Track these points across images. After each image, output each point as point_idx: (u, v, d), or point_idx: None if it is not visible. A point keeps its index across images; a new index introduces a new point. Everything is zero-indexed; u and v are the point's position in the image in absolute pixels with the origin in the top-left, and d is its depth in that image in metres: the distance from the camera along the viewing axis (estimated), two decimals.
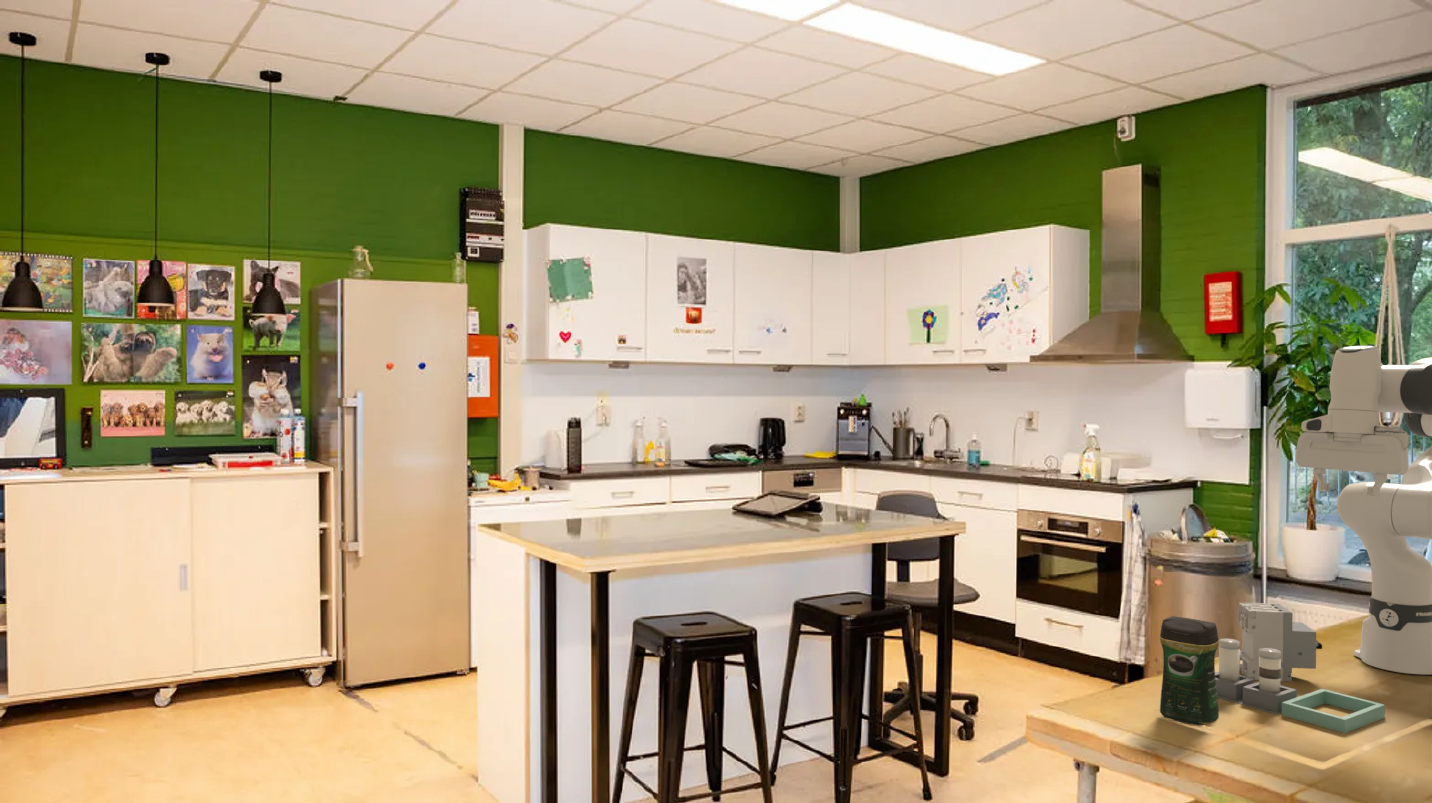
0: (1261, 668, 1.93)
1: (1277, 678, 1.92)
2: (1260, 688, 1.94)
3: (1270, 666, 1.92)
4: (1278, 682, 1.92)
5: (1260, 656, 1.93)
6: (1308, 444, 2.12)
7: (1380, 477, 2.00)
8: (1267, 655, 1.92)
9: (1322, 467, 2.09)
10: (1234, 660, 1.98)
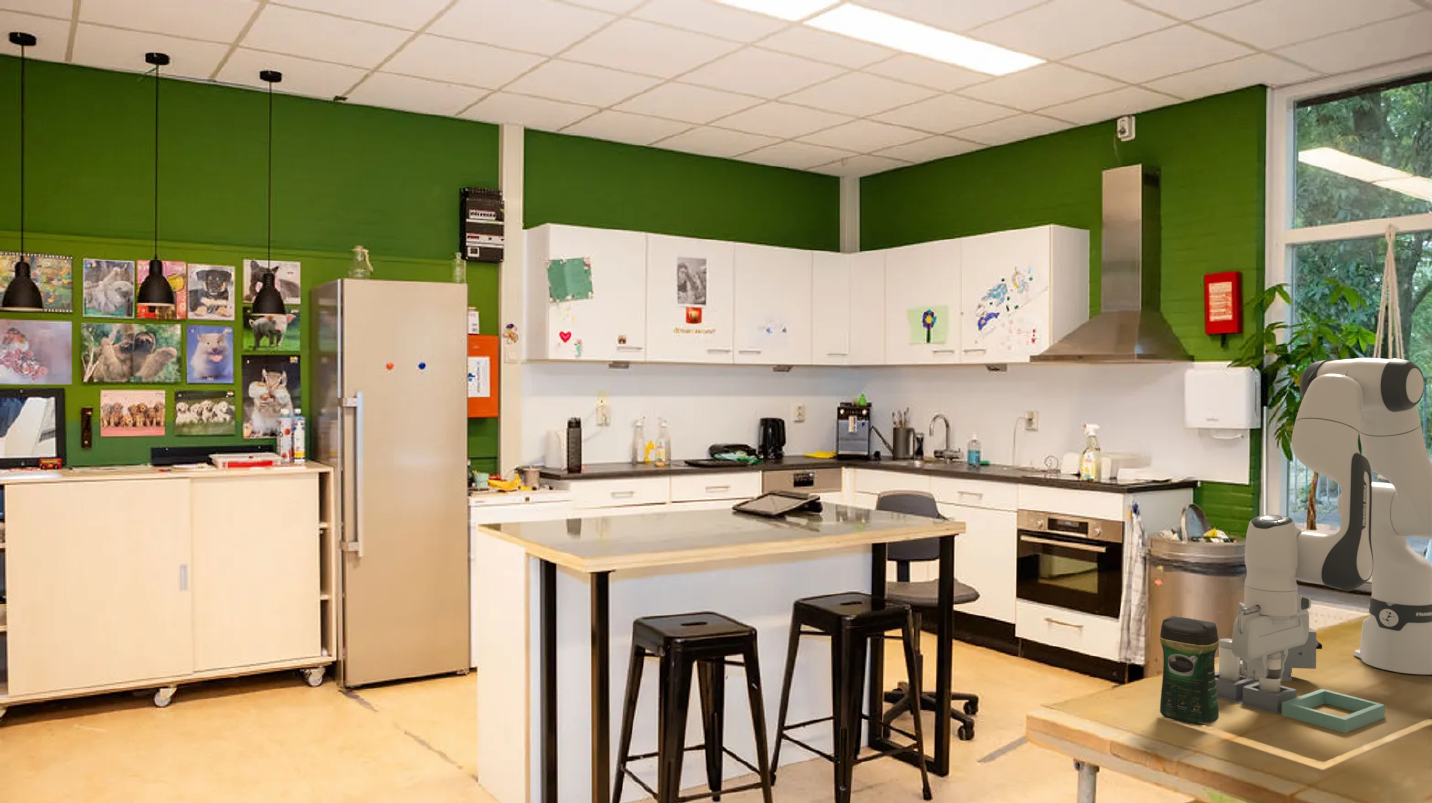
0: None
1: (1277, 678, 1.92)
2: (1260, 688, 1.94)
3: (1270, 666, 1.92)
4: (1278, 682, 1.92)
5: None
6: None
7: None
8: (1267, 655, 1.92)
9: None
10: (1234, 660, 1.98)
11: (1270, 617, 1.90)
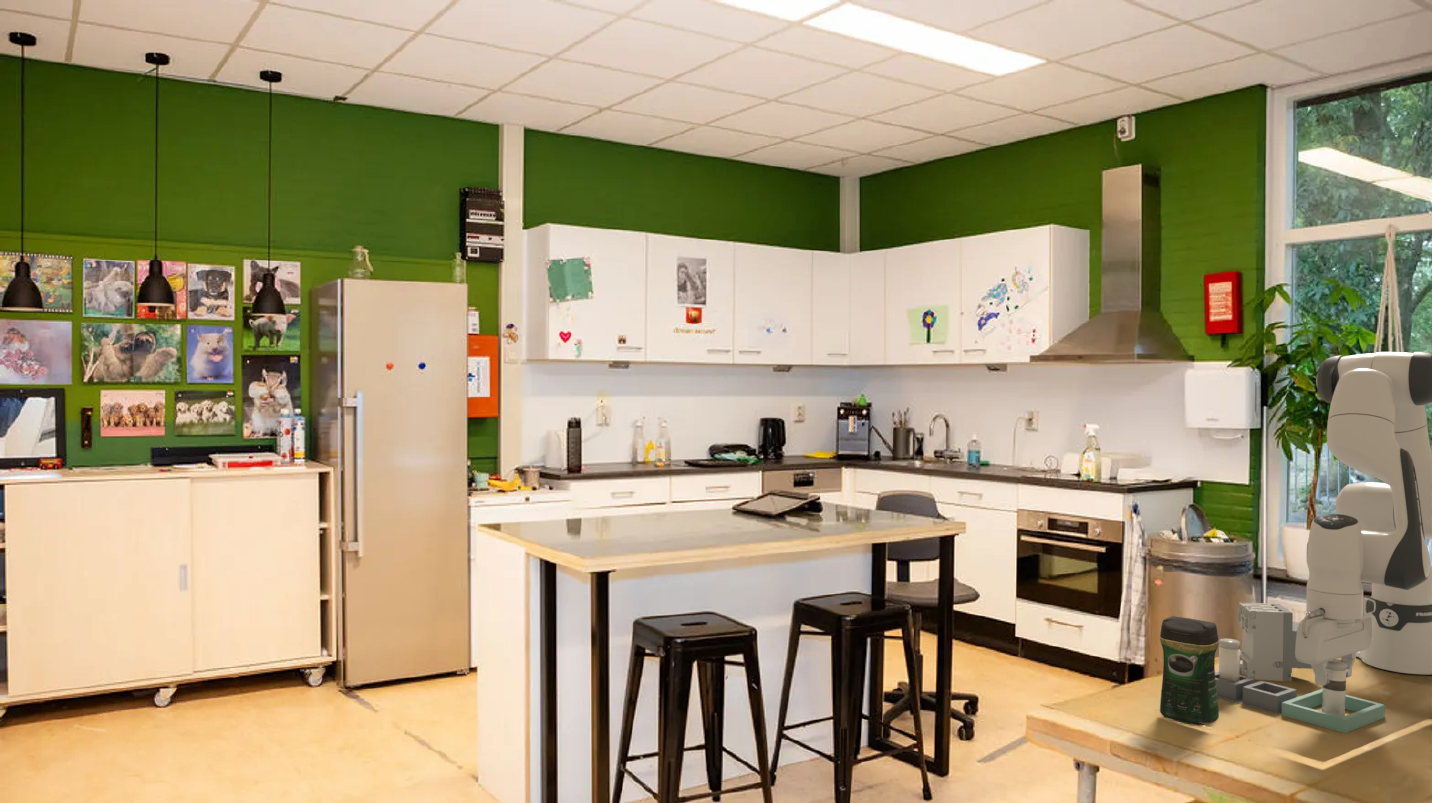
0: None
1: (1342, 690, 1.85)
2: (1323, 700, 1.87)
3: (1335, 677, 1.85)
4: (1343, 694, 1.85)
5: (1325, 667, 1.87)
6: None
7: None
8: (1332, 666, 1.85)
9: None
10: (1234, 660, 1.98)
11: (1335, 621, 1.83)
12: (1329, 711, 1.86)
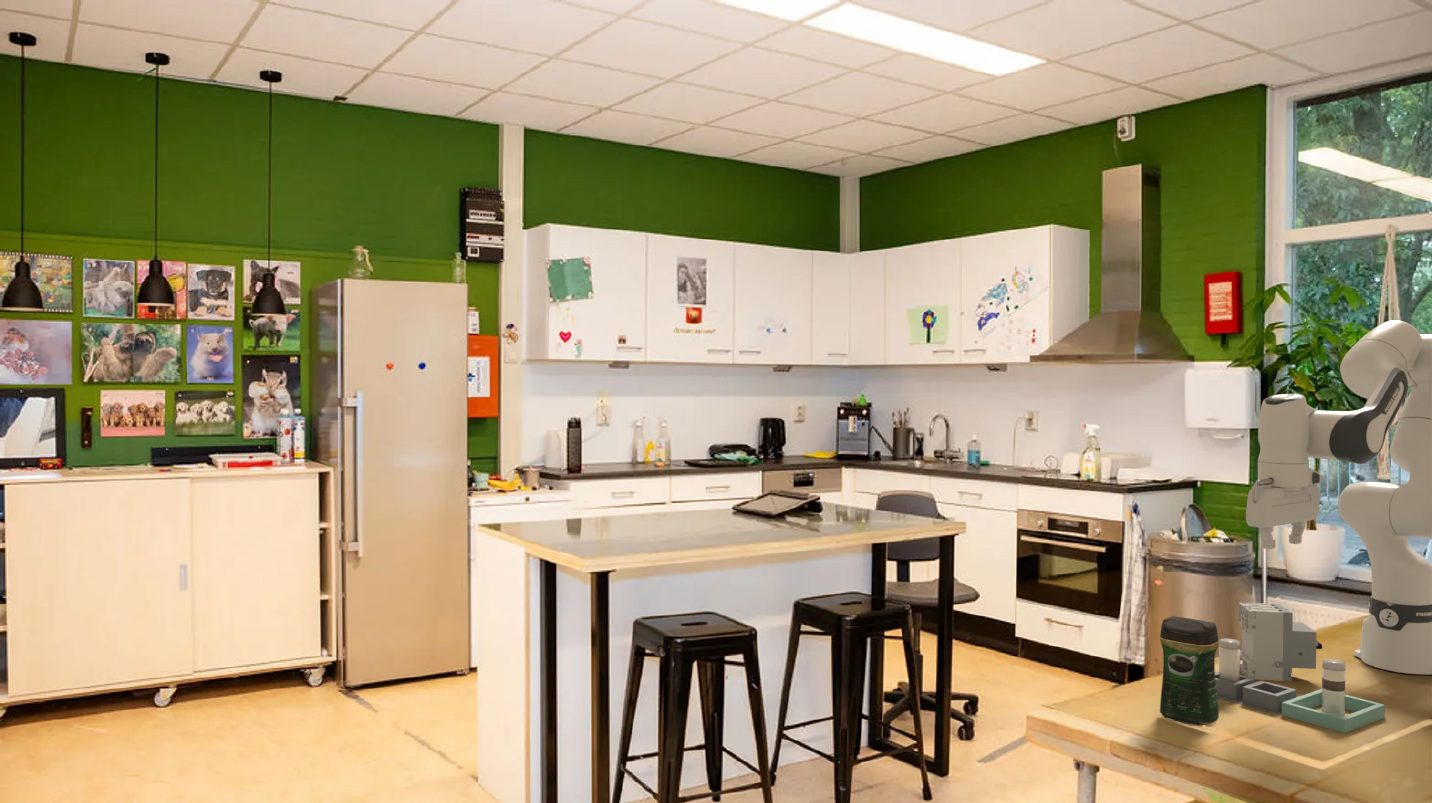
0: (1325, 680, 1.86)
1: (1342, 690, 1.85)
2: (1323, 701, 1.87)
3: (1334, 678, 1.85)
4: (1343, 694, 1.85)
5: (1323, 667, 1.87)
6: None
7: None
8: (1331, 667, 1.85)
9: None
10: (1234, 660, 1.98)
11: (1283, 489, 1.99)
12: (1329, 711, 1.86)
